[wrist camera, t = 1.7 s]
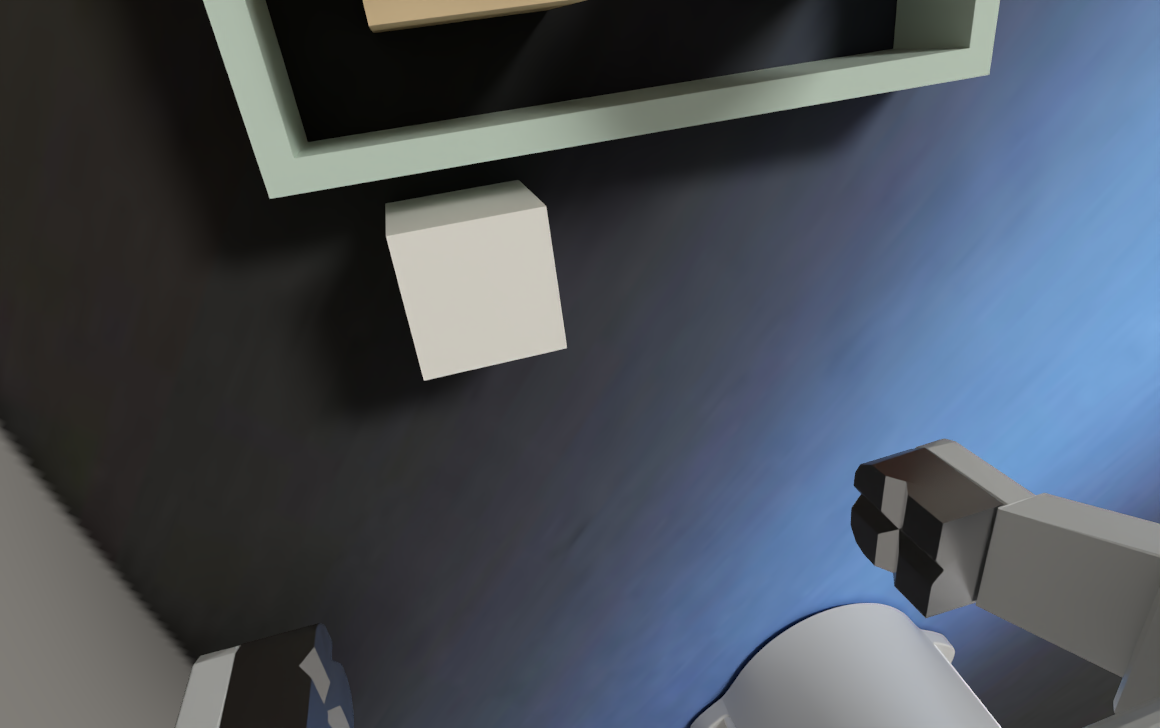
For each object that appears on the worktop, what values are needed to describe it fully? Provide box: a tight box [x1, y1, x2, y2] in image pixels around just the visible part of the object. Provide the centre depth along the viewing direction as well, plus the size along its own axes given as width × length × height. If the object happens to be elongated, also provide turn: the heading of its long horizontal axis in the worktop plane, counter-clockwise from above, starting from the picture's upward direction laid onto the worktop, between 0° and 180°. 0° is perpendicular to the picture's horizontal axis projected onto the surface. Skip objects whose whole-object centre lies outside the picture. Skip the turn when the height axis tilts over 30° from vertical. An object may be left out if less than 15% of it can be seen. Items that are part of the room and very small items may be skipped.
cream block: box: [385, 180, 567, 381], centre depth 24 cm, size 5×5×5 cm
